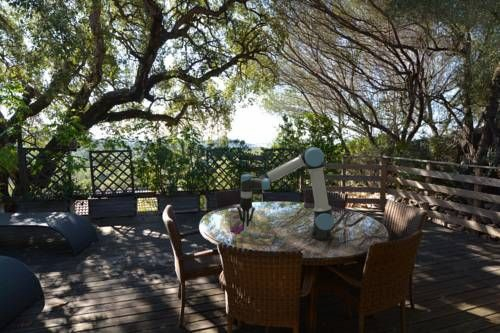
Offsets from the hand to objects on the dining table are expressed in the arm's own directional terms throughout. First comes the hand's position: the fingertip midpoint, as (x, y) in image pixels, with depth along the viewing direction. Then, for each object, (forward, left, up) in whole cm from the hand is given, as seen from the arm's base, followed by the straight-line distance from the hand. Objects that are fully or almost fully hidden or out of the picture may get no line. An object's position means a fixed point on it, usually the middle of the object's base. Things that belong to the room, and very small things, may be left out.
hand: (245, 230), depth 215 cm
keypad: (-7, 0, -6) cm, 9 cm away
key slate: (-7, 0, -3) cm, 8 cm away
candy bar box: (+10, -14, -6) cm, 18 cm away
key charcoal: (-14, 0, -5) cm, 15 cm away
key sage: (0, 0, -3) cm, 3 cm away
